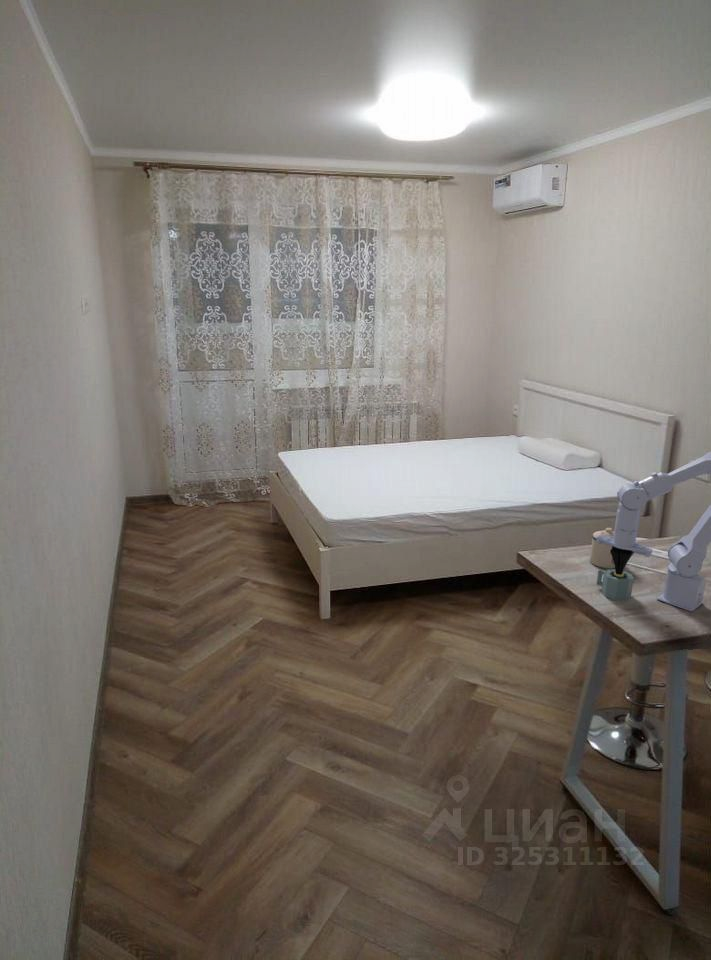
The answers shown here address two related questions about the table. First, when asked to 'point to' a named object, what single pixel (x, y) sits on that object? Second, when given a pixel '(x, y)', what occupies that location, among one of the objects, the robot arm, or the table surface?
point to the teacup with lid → (602, 550)
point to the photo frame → (657, 554)
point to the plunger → (619, 575)
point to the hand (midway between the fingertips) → (619, 573)
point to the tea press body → (615, 585)
